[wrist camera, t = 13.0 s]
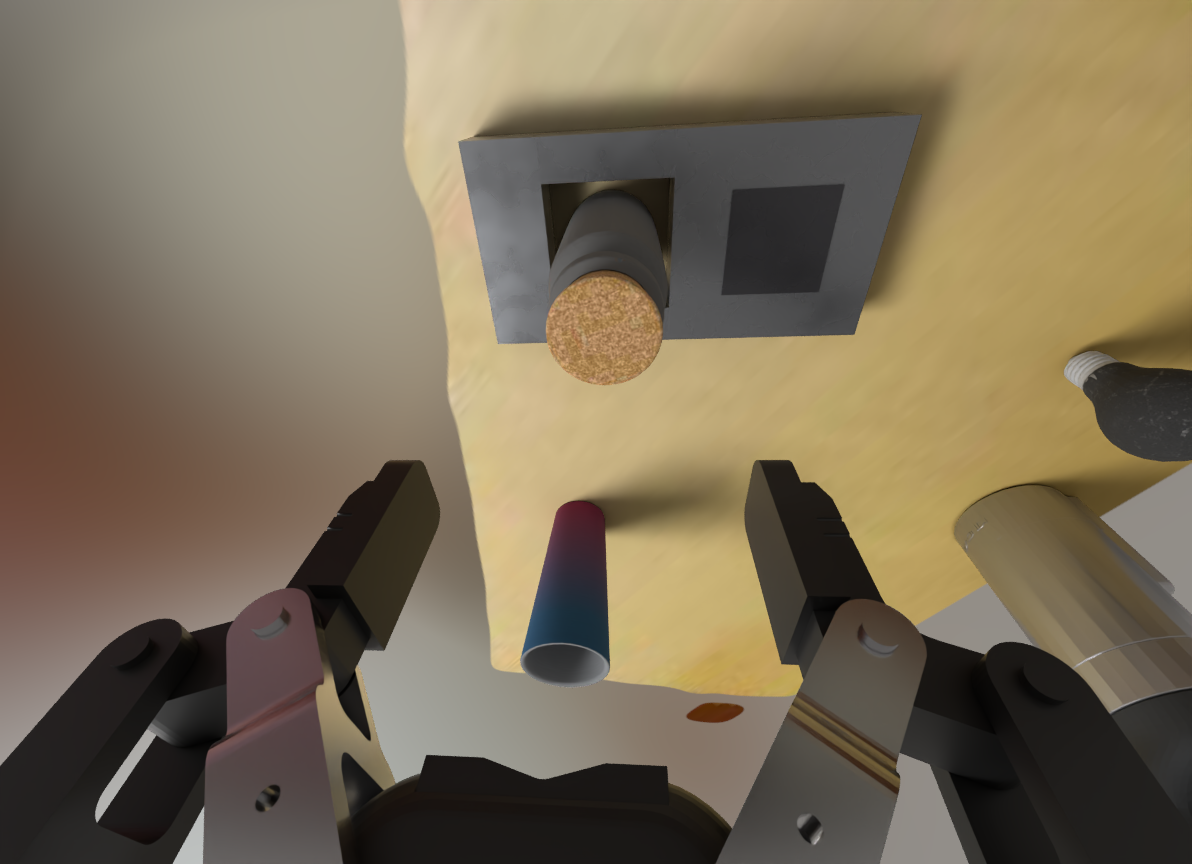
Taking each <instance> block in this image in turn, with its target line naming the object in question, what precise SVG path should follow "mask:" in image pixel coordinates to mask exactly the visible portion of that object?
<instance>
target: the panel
mask: <svg viewBox="0 0 1192 864" xmlns="http://www.w3.org/2000/svg"><path fill="white" fill-rule="evenodd" d="M921 116H922V115H921V114H910V113H899V112H885V113H868V114H851V115H835V116H818V117H801V118H784V119H767V120H750V121H733V122H716V123H699V124H682V125H665V126H648V127H631V128H614V129H597V130H580V131H563V132H546V133H529V134H512V135H495V136H478V137H471V138H468V139H465V140H462V141H459V142H458V143H459V148H460V153H461V158H462V163H463V168H464V173H465V178H466V184H467V189H468V194H469V199H470V204H471V209H472V214H473V219H474V224H475V229H476V234H477V239H478V245H479V250H480V255H481V260H482V265H483V270H484V275H485V280H486V285H487V290H488V295H489V301H490V306H491V311H492V316H493V321H494V326H495V331H496V336H497V341H498V344H514V343H547V339H546V321H547V305H548V293H547V285H548V278H549V274H550V270H551V267H552V264H553V261H554V259H555V256H556V251H555V241H554V231H553V221H552V211H551V201H550V191H549V184H555V183H575V182H595V181H614V180H634V179H654V178H670V195H669V221H668V246H667V272H666V276H667V282H668V296H667V302H666V306H665V309H664V322H663V337H662V340H667V339H705V338H744V337H782V336H821V335H854V334H855V331H856V327H857V324H858V321H859V318H860V314H861V311H862V308H863V305H864V301H865V298H866V295H867V292H868V288H869V285H870V282H871V279H872V275H873V272H874V269H875V266H876V262H877V259H878V256H879V253H880V249H881V246H882V243H883V239H884V236H885V233H886V230H887V226H888V223H889V220H890V217H891V213H892V210H893V207H894V204H895V200H896V197H897V194H898V191H899V187H900V184H901V181H902V178H903V174H904V171H905V168H906V165H907V161H908V158H909V155H910V152H911V148H912V145H913V142H914V139H915V135H916V132H917V129H918V125H919V122H920V119H921Z"/></svg>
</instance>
